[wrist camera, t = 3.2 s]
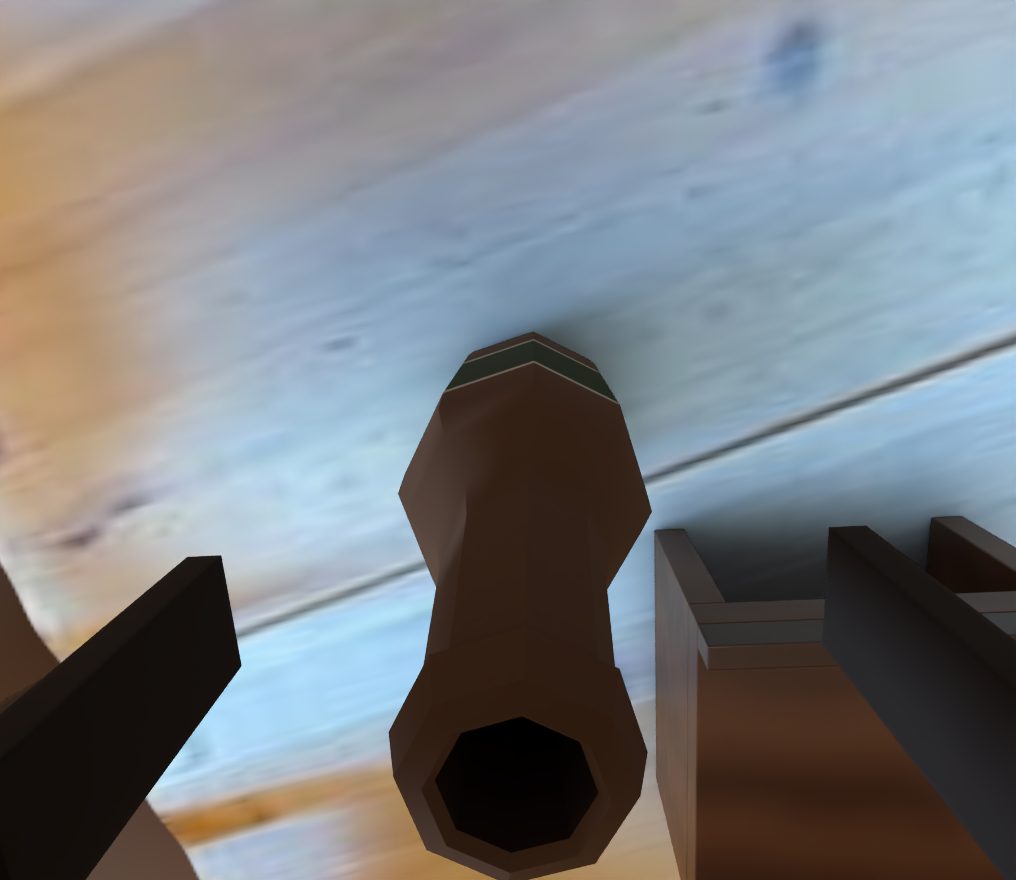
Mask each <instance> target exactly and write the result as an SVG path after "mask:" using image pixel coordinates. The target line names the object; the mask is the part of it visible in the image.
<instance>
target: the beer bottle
mask: <svg viewBox="0 0 1016 880" xmlns="http://www.w3.org/2000/svg"><path fill="white" fill-rule="evenodd" d="M398 495H399V497H400V500H401V502H402V505H403V507H404V510H405V512H406V514H407V517H408V519H409V522H410V524H411V527H412V529H413V532H414V534H415V537H416V539H417V542H418V544H419V547H420V549H421V552H422V554H423V557H424V559H425V562H426V564H427V567H428V569H429V572H430V574H431V576H432V579H433V581H434V583H435V585H436V592H435V598H434V604H433V611H432V617H431V623H430V629H429V635H428V641H427V648H426V654H425V660H424V666H423V667H422V669H421V671H420V673H419V675H418V677H417V679H416V681H415V683H414V685H413V687H412V689H411V690H410V692H409V694H408V696H407V698H406V700H405V702H404V704H403V706H402V708H401V710H400V711H399V713H398V715H397V717H396V719H395V721H394V723H393V725H392V727H391V729H390V731H389V740H390V749H391V759H392V768H393V777H394V779H395V781H396V784H397V786H398V788H399V790H400V792H401V795H402V797H403V799H404V801H405V803H406V806H407V808H408V810H409V812H410V814H411V817H412V819H413V821H414V823H415V825H416V828H417V830H418V832H419V834H420V836H421V839H422V841H423V843H424V845H425V847H426V850H428V851H430V852H433V853H435V854H438V855H440V856H442V857H445V858H447V859H450V860H452V861H454V862H457V863H459V864H461V865H464V866H466V867H469V868H471V869H473V870H476V871H478V872H480V873H483V874H485V875H488V876H490V877H492V878H495V879H497V880H529V879H533V878H537V877H541V876H545V875H550V874H554V873H558V872H562V871H566V870H570V869H574V868H579V867H583V866H587V865H591V864H595V863H596V862H597V860H598V859H599V857H600V856H601V854H602V853H603V851H604V850H605V848H606V847H607V845H608V844H609V842H610V841H611V839H612V838H613V836H614V835H615V833H616V832H617V830H618V829H619V827H620V826H621V824H622V823H623V821H624V820H625V818H626V817H627V815H628V814H629V812H630V811H631V809H632V808H633V806H634V805H635V803H636V802H637V800H638V799H639V797H640V795H641V789H642V783H643V777H644V771H645V765H646V759H647V753H648V752H647V749H646V746H645V743H644V740H643V737H642V734H641V731H640V728H639V725H638V722H637V719H636V716H635V713H634V711H633V708H632V705H631V702H630V699H629V696H628V693H627V690H626V687H625V684H624V681H623V678H622V675H621V672H620V669H619V668H617V667H615V662H614V653H613V643H612V633H611V623H610V613H609V604H608V594H607V589H608V587H609V586H610V584H611V582H612V580H613V579H614V577H615V575H616V574H617V572H618V570H619V569H620V567H621V565H622V563H623V562H624V560H625V558H626V557H627V555H628V553H629V552H630V550H631V548H632V547H633V545H634V543H635V541H636V540H637V538H638V536H639V535H640V533H641V531H642V529H643V528H644V526H645V524H646V522H647V520H648V518H649V516H650V514H651V513H652V510H651V507H650V503H649V499H648V496H647V492H646V489H645V485H644V482H643V479H642V476H641V472H640V469H639V466H638V463H637V459H636V456H635V453H634V449H633V446H632V443H631V440H630V436H629V433H628V430H627V427H626V423H625V420H624V417H623V414H622V410H621V407H620V404H619V403H618V401H617V400H616V398H615V396H614V395H613V393H612V392H611V390H610V388H609V387H608V385H607V384H606V382H605V380H604V379H603V377H602V376H601V374H600V372H599V371H598V369H597V367H596V366H595V364H594V363H593V362H591V361H590V360H589V359H587V358H585V357H583V356H581V355H579V354H577V353H575V352H573V351H571V350H569V349H567V348H565V347H563V346H561V345H559V344H557V343H555V342H553V341H551V340H549V339H547V338H545V337H543V336H541V335H539V334H537V333H535V332H530V333H527V334H524V335H521V336H518V337H516V338H513V339H510V340H507V341H504V342H501V343H498V344H495V345H492V346H489V347H486V348H483V349H480V350H477V351H474V352H473V353H471V354H470V355H469V356H468V357H467V359H466V360H465V362H464V363H463V364H462V366H461V367H460V369H459V370H458V372H457V373H456V375H455V376H454V378H453V379H452V381H451V382H450V384H449V385H448V387H447V388H446V390H445V391H444V392H443V394H442V396H441V399H440V401H439V403H438V405H437V407H436V409H435V411H434V413H433V416H432V418H431V420H430V422H429V424H428V426H427V428H426V430H425V432H424V435H423V437H422V439H421V441H420V443H419V445H418V447H417V449H416V452H415V454H414V456H413V458H412V460H411V462H410V464H409V466H408V469H407V471H406V473H405V475H404V478H403V481H402V484H401V487H400V490H399V493H398Z"/></svg>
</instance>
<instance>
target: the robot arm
mask: <svg viewBox="0 0 1016 880" xmlns="http://www.w3.org/2000/svg"><path fill="white" fill-rule="evenodd" d="M822 644H823V646H824V647H825V648H826V650H827V651H828V652H829V653H830V655H831V656H832V657H833V659H834V660H835V661H836V663H837V664H838V665H839V666H840V668H841V669H842V670H843V672H844V673H845V674H846V675H847V677H848V678H849V679H850V681H851V682H852V683H853V684H854V686H855V687H856V688H857V690H858V691H859V692H860V693H861V695H862V696H863V697H864V699H865V700H866V701H867V703H868V704H869V705H870V706H871V708H872V709H873V710H874V712H875V713H876V714H877V715H878V717H879V718H880V719H881V721H882V722H883V723H884V724H885V726H886V727H887V728H888V730H889V731H890V732H891V733H892V735H893V736H894V737H895V739H896V740H897V741H898V743H899V744H900V745H901V746H902V748H903V749H904V750H905V752H906V753H907V754H908V755H909V757H910V758H911V759H912V761H913V762H914V763H915V764H916V766H917V767H918V768H919V770H920V771H921V772H922V773H923V775H924V776H925V777H926V779H927V780H928V781H929V783H930V784H931V785H932V786H933V788H934V789H935V790H936V792H937V793H938V794H939V795H940V797H941V798H942V799H943V801H944V802H945V803H946V804H947V806H948V807H949V808H950V810H951V811H952V812H953V813H954V815H955V816H956V817H957V819H958V820H959V821H960V823H961V824H962V825H963V826H964V828H965V829H966V830H967V832H968V833H969V834H970V835H971V837H972V838H973V839H974V841H975V842H976V843H977V844H978V846H979V847H980V848H981V850H982V851H983V852H984V853H985V855H986V856H987V857H988V859H989V860H990V861H991V863H992V864H993V865H994V866H995V868H996V869H997V870H998V872H999V873H1000V874H1001V875H1002V877H1003V878H1004V879H1005V880H1016V640H1014V639H1013V638H1012V637H1011V636H1009V635H1008V634H1007V633H1005V632H1004V631H1003V630H1001V629H1000V628H999V627H998V626H996V625H995V624H994V623H992V622H991V621H990V620H988V619H987V618H986V617H985V616H983V615H982V614H981V613H979V612H978V611H977V610H975V609H974V608H973V607H971V606H970V605H969V604H968V603H966V602H965V601H964V600H962V599H961V598H960V597H958V596H957V595H956V594H955V593H953V592H952V591H951V590H949V589H948V588H947V587H945V586H944V585H943V584H942V583H940V582H939V581H938V580H936V579H935V578H934V577H932V576H931V575H930V574H928V573H927V572H926V571H925V570H923V569H922V568H921V567H919V566H918V565H917V564H915V563H914V562H913V561H912V560H910V559H909V558H908V557H906V556H905V555H904V554H902V553H901V552H900V551H899V550H897V549H896V548H895V547H893V546H892V545H891V544H889V543H888V542H887V541H885V540H884V539H883V538H882V537H880V536H879V535H878V534H876V533H875V532H874V531H872V530H871V529H870V528H869V527H867V526H848V527H829V536H828V553H827V570H826V586H825V603H824V620H823V637H822ZM240 667H241V660H240V655H239V649H238V644H237V638H236V633H235V628H234V622H233V617H232V611H231V606H230V601H229V595H228V590H227V584H226V579H225V573H224V568H223V563H222V557H221V555H220V556H198V557H187V558H186V559H184V560H183V561H182V562H181V563H180V564H178V565H177V566H176V567H175V568H174V569H172V570H171V571H170V572H169V573H168V574H166V575H165V576H164V577H163V578H162V579H161V580H159V581H158V582H157V583H156V584H155V585H153V586H152V587H151V588H150V589H149V590H147V591H146V592H145V593H144V594H143V595H141V596H140V597H139V598H138V599H137V600H135V601H134V602H133V603H132V604H131V605H130V606H128V607H127V608H126V609H125V610H124V611H122V612H121V613H120V614H119V615H118V616H116V617H115V618H114V619H113V620H112V621H110V622H109V623H108V624H107V625H106V626H104V627H103V628H102V629H101V630H100V631H99V632H97V633H96V634H95V635H94V636H93V637H91V638H90V639H89V640H88V641H87V642H85V643H84V644H83V645H82V646H81V647H79V648H78V649H77V650H76V651H75V652H73V653H72V654H71V655H70V656H69V657H68V658H66V659H65V660H64V661H63V662H62V663H60V664H59V665H58V666H57V667H56V668H54V669H53V670H52V671H51V672H50V673H48V674H47V675H46V676H45V677H44V678H43V679H40V680H38V681H36V682H34V683H32V684H31V685H29V686H27V687H25V688H24V689H22V690H20V691H18V692H16V693H15V694H13V695H11V696H9V697H7V698H6V699H5V700H4V701H2V702H1V703H0V880H86V878H87V877H88V876H89V874H90V873H91V871H92V870H93V869H94V867H95V866H96V865H97V863H98V862H99V861H100V859H101V858H102V857H103V855H104V854H105V852H106V851H107V850H108V848H109V847H110V846H111V844H112V843H113V841H114V840H115V839H116V837H117V836H118V835H119V833H120V832H121V831H122V829H123V828H124V826H125V825H126V824H127V822H128V821H129V819H130V818H131V817H132V815H133V814H134V813H135V811H136V810H137V809H138V807H139V806H140V804H141V803H142V802H143V800H144V799H145V798H146V796H147V795H148V793H149V792H150V791H151V789H152V788H153V787H154V785H155V784H156V783H157V781H158V780H159V778H160V777H161V776H162V774H163V773H164V772H165V770H166V769H167V767H168V766H169V765H170V763H171V762H172V761H173V759H174V758H175V756H176V755H177V754H178V752H179V751H180V750H181V748H182V747H183V745H184V744H185V743H186V741H187V740H188V739H189V737H190V736H191V735H192V733H193V732H194V730H195V729H196V728H197V726H198V725H199V724H200V722H201V721H202V719H203V718H204V717H205V715H206V714H207V713H208V711H209V710H210V708H211V707H212V706H213V704H214V703H215V702H216V700H217V699H218V697H219V696H220V695H221V693H222V692H223V691H224V689H225V688H226V687H227V685H228V684H229V682H230V681H231V680H232V678H233V677H234V676H235V674H236V673H237V671H238V670H239V669H240Z"/></svg>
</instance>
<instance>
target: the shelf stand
mask: <svg viewBox="0 0 1016 880" xmlns="http://www.w3.org/2000/svg"><path fill="white" fill-rule="evenodd" d="M654 545H655V660H656V774H657V783H658V788H659V792H660V796H661V800H662V804H663V808H664V812H665V816H666V821H667V825H668V829H669V833H670V837H671V841H672V845H673V849H674V854H675V858H676V862H677V866H678V870H679V874H680V878H681V880H1005V879H1004V878H1003V877H1002V875H1001V874H1000V873H999V872H998V870H997V869H996V868H995V866H994V865H993V864H992V863H991V861H990V860H989V859H988V857H987V856H986V855H985V853H984V852H983V851H982V850H981V848H980V847H979V846H978V844H977V843H976V842H975V841H974V839H973V838H972V837H971V835H970V834H969V833H968V832H967V830H966V829H965V828H964V826H963V825H962V824H961V823H960V821H959V820H958V819H957V817H956V816H955V815H954V813H953V812H952V811H951V810H950V808H949V807H948V806H947V804H946V803H945V802H944V801H943V799H942V798H941V797H940V795H939V794H938V793H937V792H936V790H935V789H934V788H933V786H932V785H931V784H930V783H929V781H928V780H927V779H926V777H925V776H924V775H923V773H922V772H921V771H920V770H919V768H918V767H917V766H916V764H915V763H914V762H913V761H912V759H911V758H910V757H909V755H908V754H907V753H906V752H905V750H904V749H903V748H902V746H901V745H900V744H899V743H898V741H897V740H896V739H895V737H894V736H893V735H892V733H891V732H890V731H889V730H888V728H887V727H886V726H885V724H884V723H883V722H882V721H881V719H880V718H879V717H878V715H877V714H876V713H875V712H874V710H873V709H872V708H871V706H870V705H869V704H868V703H867V701H866V700H865V699H864V697H863V696H862V695H861V693H860V692H859V691H858V690H857V688H856V687H855V686H854V684H853V683H852V682H851V681H850V679H849V678H848V677H847V675H846V674H845V673H844V672H843V670H842V669H841V668H840V666H839V665H838V664H837V663H836V661H835V660H834V659H833V657H832V656H831V655H830V653H829V652H828V651H827V650H826V648H825V647H824V646H823V644H822V637H823V620H824V603H825V599H811V600H786V601H762V602H737V603H726V601H725V599H724V598H723V596H722V594H721V592H720V591H719V589H718V587H717V585H716V584H715V582H714V580H713V579H712V577H711V575H710V573H709V572H708V570H707V568H706V566H705V565H704V563H703V561H702V559H701V558H700V556H699V554H698V552H697V551H696V549H695V547H694V545H693V544H692V542H691V540H690V538H689V537H688V535H687V533H686V532H685V530H684V529H673V530H655V531H654ZM926 572H927V573H928V574H930V575H931V576H932V577H934V578H935V579H936V580H938V581H939V582H940V583H942V584H943V585H944V586H945V587H947V588H948V589H949V590H951V591H952V592H953V593H955V594H956V595H957V596H958V597H960V598H961V599H962V600H964V601H965V602H966V603H968V604H969V605H970V606H971V607H973V608H974V609H975V610H977V611H978V612H979V613H981V614H982V615H983V616H985V617H986V618H987V619H988V620H990V621H991V622H992V623H994V624H995V625H996V626H998V627H999V628H1000V629H1001V630H1003V631H1004V632H1005V633H1007V634H1008V635H1009V636H1011V637H1012V638H1013V639H1014V640H1016V548H1015V547H1014V546H1012V545H1010V544H1008V543H1007V542H1005V541H1003V540H1002V539H1000V538H998V537H997V536H995V535H993V534H991V533H990V532H988V531H986V530H985V529H983V528H981V527H980V526H978V525H976V524H974V523H973V522H971V521H969V520H968V519H966V518H964V517H962V516H958V517H937V518H932V522H931V531H930V541H929V550H928V560H927V569H926Z"/></svg>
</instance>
